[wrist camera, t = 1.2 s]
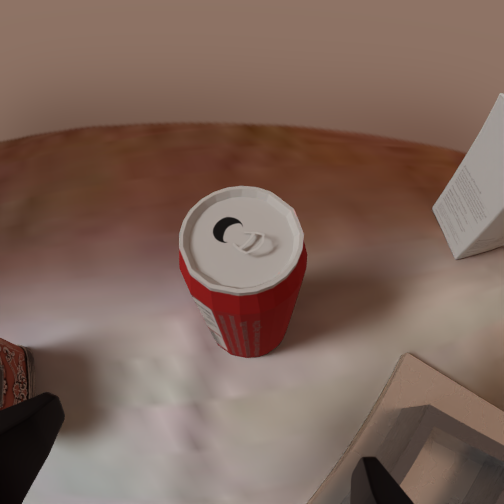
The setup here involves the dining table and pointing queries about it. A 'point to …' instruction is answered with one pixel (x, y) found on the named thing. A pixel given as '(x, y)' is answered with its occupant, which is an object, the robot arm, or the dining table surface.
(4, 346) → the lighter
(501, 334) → the dining table surface
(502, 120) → the skincare box
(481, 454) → the cup bracket
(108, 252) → the dining table surface
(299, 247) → the soda can
